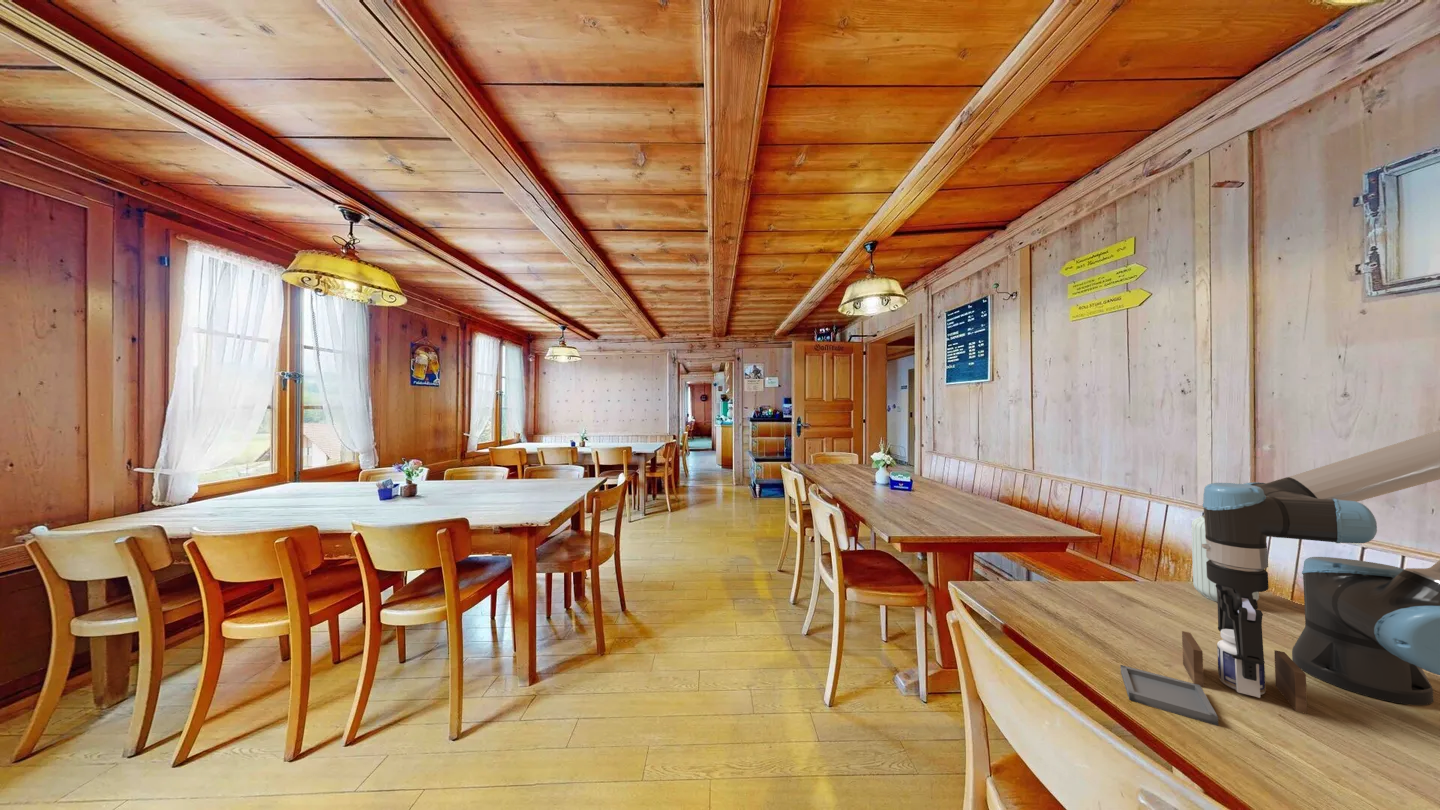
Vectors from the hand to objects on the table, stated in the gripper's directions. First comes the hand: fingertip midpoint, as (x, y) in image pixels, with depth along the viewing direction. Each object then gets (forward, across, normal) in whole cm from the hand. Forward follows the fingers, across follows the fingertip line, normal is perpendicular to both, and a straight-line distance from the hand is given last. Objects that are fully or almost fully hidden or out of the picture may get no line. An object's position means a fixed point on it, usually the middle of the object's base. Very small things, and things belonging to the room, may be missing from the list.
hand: (1241, 684), depth 81 cm
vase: (+1, -50, +10) cm, 51 cm away
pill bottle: (+1, 0, 0) cm, 1 cm away
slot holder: (+1, 0, 0) cm, 1 cm away
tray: (+1, +12, -12) cm, 17 cm away
